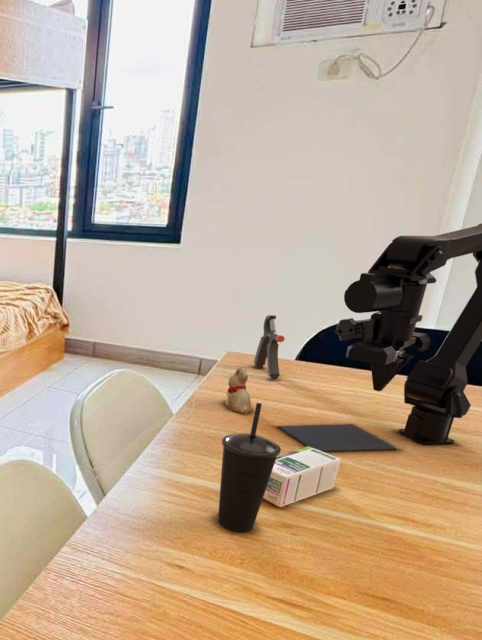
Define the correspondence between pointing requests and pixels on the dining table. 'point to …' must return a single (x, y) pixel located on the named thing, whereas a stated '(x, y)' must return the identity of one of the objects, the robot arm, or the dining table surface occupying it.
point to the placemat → (336, 438)
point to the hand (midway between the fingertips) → (377, 390)
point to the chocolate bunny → (238, 392)
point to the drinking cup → (245, 476)
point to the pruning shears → (269, 348)
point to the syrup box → (301, 476)
